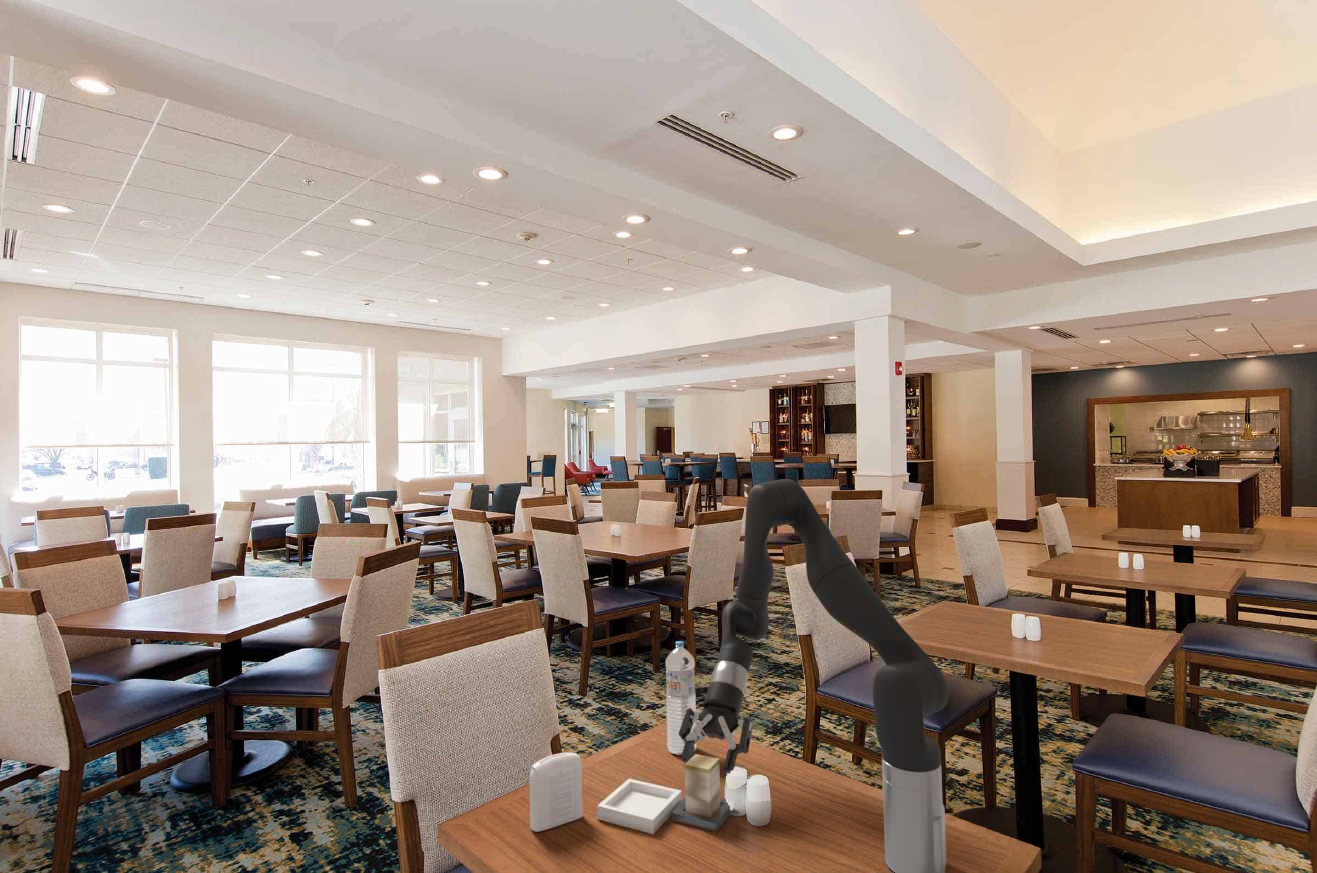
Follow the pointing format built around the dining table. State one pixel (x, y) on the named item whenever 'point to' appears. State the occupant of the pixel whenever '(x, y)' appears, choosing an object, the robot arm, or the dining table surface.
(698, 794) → the key block
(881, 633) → the robot arm
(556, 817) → the white rounded slab
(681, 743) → the water bottle
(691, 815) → the plate
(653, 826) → the tray
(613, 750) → the dining table surface
